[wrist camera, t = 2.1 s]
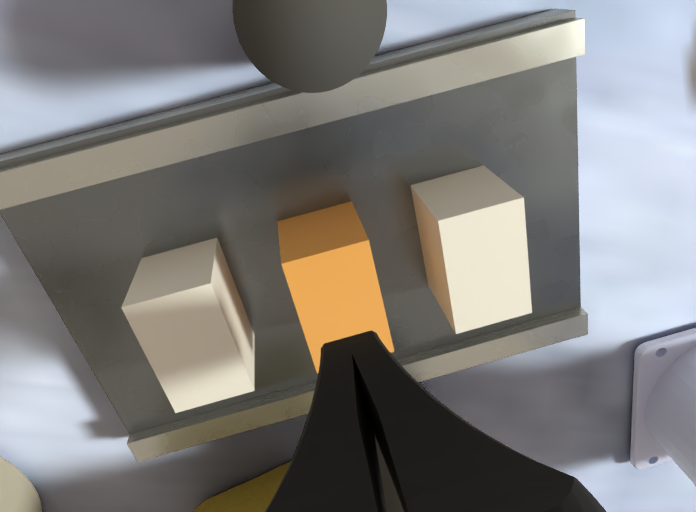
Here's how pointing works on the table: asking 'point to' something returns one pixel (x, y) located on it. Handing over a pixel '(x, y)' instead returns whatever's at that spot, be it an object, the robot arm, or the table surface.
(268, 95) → the panel
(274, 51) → the cord post
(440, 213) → the block
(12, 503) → the travel mug
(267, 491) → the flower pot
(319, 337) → the block
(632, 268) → the table surface
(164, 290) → the block
